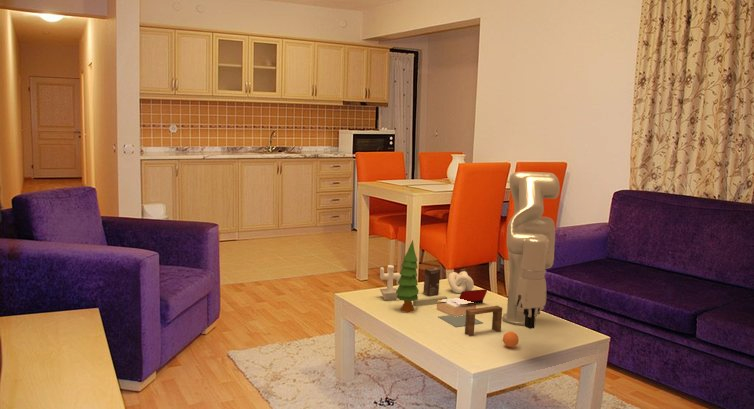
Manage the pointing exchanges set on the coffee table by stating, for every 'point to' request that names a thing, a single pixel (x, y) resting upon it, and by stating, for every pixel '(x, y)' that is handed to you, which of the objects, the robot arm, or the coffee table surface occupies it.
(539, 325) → the coffee table surface
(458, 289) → the decorative knot
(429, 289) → the box
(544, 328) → the coffee table surface
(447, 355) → the coffee table surface
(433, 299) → the wall
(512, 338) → the ball
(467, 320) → the bridge
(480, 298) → the handheld game console
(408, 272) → the decorative tree
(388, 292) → the figurine
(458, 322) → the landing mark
